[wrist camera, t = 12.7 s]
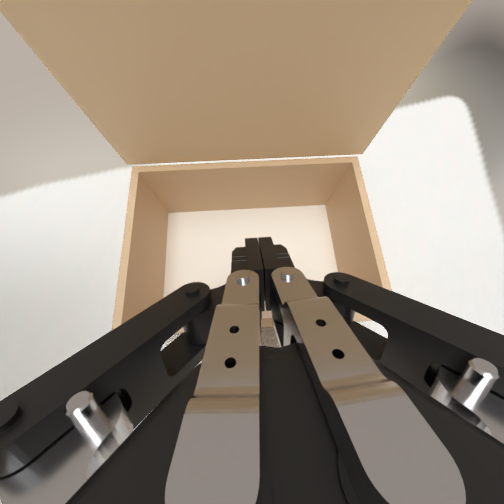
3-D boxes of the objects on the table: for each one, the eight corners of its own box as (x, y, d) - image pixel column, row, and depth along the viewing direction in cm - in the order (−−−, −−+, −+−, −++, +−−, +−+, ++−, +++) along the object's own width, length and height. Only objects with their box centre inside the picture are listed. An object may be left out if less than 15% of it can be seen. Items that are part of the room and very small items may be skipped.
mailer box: (157, 333, 23) (110, 337, 15) (165, 211, 27) (132, 166, 19) (350, 320, 23) (398, 318, 16) (327, 202, 28) (357, 156, 20)
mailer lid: (-185, -213, 5) (-173, -221, 6) (127, 164, 19) (127, 158, 19) (622, -210, 6) (611, -219, 6) (362, 153, 20) (360, 148, 20)
